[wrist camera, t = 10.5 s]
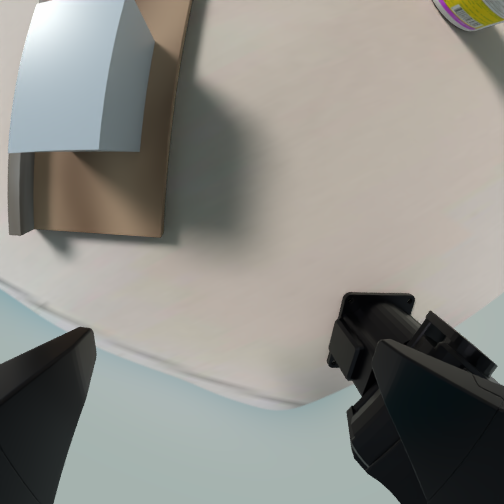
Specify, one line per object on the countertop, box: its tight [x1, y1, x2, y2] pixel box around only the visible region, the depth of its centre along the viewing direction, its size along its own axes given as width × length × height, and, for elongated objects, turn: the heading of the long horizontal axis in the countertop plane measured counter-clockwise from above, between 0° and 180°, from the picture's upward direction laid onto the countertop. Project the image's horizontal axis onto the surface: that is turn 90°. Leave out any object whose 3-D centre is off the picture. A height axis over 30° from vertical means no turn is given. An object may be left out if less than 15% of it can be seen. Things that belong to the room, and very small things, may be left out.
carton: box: [8, 0, 155, 153], centre depth 12 cm, size 5×7×7 cm
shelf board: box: [8, 0, 193, 238], centre depth 15 cm, size 10×17×3 cm, turn 174°
